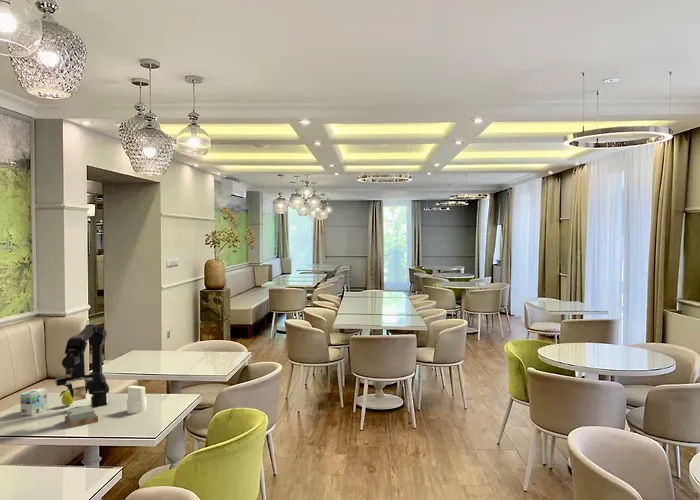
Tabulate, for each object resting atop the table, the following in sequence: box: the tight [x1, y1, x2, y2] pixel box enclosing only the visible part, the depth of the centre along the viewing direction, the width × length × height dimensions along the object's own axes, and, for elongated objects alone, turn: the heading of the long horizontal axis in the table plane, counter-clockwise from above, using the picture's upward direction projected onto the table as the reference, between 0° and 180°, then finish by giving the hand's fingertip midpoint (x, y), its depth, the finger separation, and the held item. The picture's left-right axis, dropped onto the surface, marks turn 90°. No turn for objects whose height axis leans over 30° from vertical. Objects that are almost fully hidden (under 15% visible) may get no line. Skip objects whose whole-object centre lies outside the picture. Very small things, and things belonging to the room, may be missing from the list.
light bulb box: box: [19, 387, 49, 417], centre depth 261 cm, size 11×7×11 cm, turn 168°
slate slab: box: [66, 405, 96, 422], centre depth 246 cm, size 10×10×3 cm
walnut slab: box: [64, 412, 99, 429], centre depth 246 cm, size 12×12×3 cm
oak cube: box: [72, 385, 87, 402], centre depth 246 cm, size 5×5×5 cm
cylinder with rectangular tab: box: [126, 385, 148, 414], centre depth 260 cm, size 9×9×12 cm
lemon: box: [59, 387, 74, 407], centre depth 270 cm, size 7×6×10 cm
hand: (78, 396), depth 246 cm, fingers closed on oak cube, 5 cm apart
